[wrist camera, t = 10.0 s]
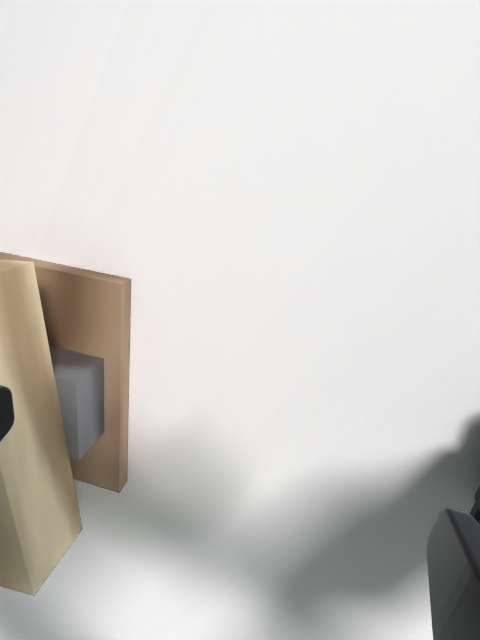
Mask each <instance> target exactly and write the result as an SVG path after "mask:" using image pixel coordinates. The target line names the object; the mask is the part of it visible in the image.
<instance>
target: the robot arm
mask: <svg viewBox="0 0 480 640" xmlns="http://www.w3.org/2000/svg"><path fill="white" fill-rule="evenodd" d="M14 420H15V415H14V406H13V397H12V392H11V390H10V388H8V387H6V386H2V385H0V442H1V441H2V439H3V438H4V437H5V436H6V435H7V433H8V432H9V431H10V429H11V428H12V426H13V424H14ZM475 501H476V502H475V504H474V506H473V508H472V510H471V512H470V514H469V513H467V512H465V511H461V510H457V509H454V508H450V507H444V508H443V509H441V511H440V513H439V515H438V517H437V519H436V522H435V524H434V526H433V528H432V531H431V533H430V535H429V538H428V541H427V562H428V576H429V589H430V603H431V616H432V630H433V640H480V486H479V488H478V490H477V492H476V495H475Z"/></svg>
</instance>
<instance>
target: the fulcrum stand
mask: <svg viewBox="0 0 480 640" xmlns="http://www.w3.org/2000/svg"><path fill="white" fill-rule="evenodd" d="M0 259H1V260H15V261H29V262H34V267H35V273H36V278H37V284H38V289H39V295H40V300H41V306H42V311H43V317H44V322H45V327H46V333H47V338H48V344H49V349H50V355H51V360H52V366H53V371H54V377H55V382H56V388H57V393H58V399H59V404H60V409H61V415H62V420H63V426H64V431H65V437H66V442H67V448H68V453H69V459H70V464H71V470H72V475H73V479H76V480H79V481H82V482H86V483H89V484H92V485H95V486H99V487H102V488H105V489H108V490H112V491H115V492H118V493H119V492H120V491H121V489H122V488H123V486H124V485H125V484H126V482H127V452H128V404H129V356H130V308H131V279H129V278H124V277H119V276H114V275H109V274H104V273H99V272H95V271H90V270H85V269H80V268H75V267H70V266H65V265H60V264H55V263H51V262H46V261H41V260H36V259H31V258H26V257H21V256H16V255H12V254H7V253H2V252H0Z"/></svg>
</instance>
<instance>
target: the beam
mask: <svg viewBox="0 0 480 640" xmlns="http://www.w3.org/2000/svg"><path fill="white" fill-rule="evenodd" d="M0 385H2V386H6V387H8V388H10V390H11V392H12V397H13V406H14V415H15V420H14V424H13V426H12V428H11V429H10V431H9V432H8V433H7V435H6V436H5V437H4V438H3V439H2V441H1V442H0V586H2V587H5V588H9V589H12V590H16V591H19V592H23V593H26V594H30V595H33V596H34V595H35V594H36V593H37V591H38V590H39V588H40V587H41V586H42V584H43V583H44V582H45V580H46V579H47V577H48V576H49V575H50V573H51V572H52V570H53V569H54V568H55V566H56V565H57V564H58V562H59V561H60V559H61V558H62V557H63V555H64V554H65V552H66V551H67V550H68V548H69V547H70V545H71V544H72V543H73V541H74V540H75V539H76V537H77V536H78V534H79V533H80V532H81V530H82V524H81V519H80V513H79V508H78V502H77V497H76V491H75V486H74V481H73V475H72V470H71V464H70V459H69V453H68V448H67V442H66V437H65V431H64V426H63V420H62V415H61V409H60V404H59V399H58V393H57V388H56V382H55V377H54V371H53V366H52V360H51V355H50V349H49V344H48V338H47V333H46V327H45V322H44V317H43V311H42V306H41V300H40V295H39V289H38V284H37V278H36V273H35V267H34V262H29V261H15V260H1V259H0Z"/></svg>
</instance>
